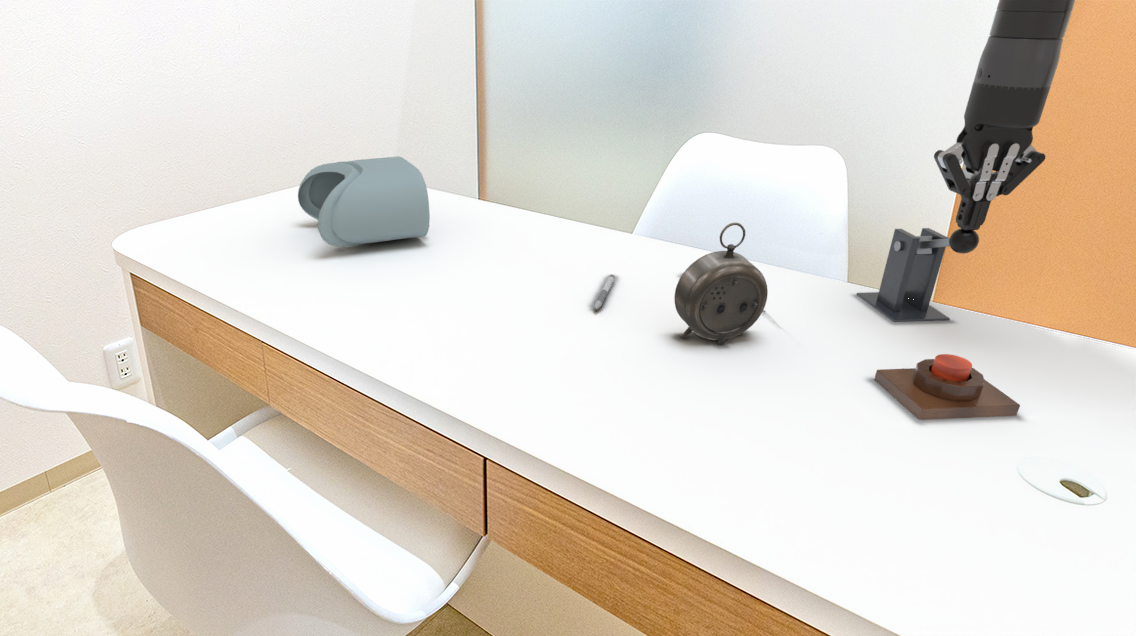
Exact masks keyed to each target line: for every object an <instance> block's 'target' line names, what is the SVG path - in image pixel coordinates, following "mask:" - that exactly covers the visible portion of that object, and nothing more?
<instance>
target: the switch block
mask: <svg viewBox="0 0 1136 636" xmlns="http://www.w3.org/2000/svg"><path fill="white" fill-rule="evenodd" d="M934 359H935V358H926V359H925V358H924V359H923V360H920V361H919V362H917V363H916V365H915V367H914V368H909V367H908V368H885V369H876V372H875V375H874V378H873V380H874V381H875V382H876V383H877V384H879V385H880V386H881V387H882V388H883V389H884V390H885V391H886V392H887V393H889V395H891V396H892V397H893V398H895V400H896V401H898V402H899V403H900V404H901V405H902V406H903V407H904V408H905V409H907V411H908V412H910V413H911V414H912V415H913V416H914V417H915V418H917V420H919V421H921V420H922V421H923V420H925V421H926V420H943V419H944V420H945V419H946V420H947V419H968V418H970V419H971V418H991V417H992V418H993V417H995V418H996V417H1014V416H1017V415H1018V412H1019V410H1020V407H1021V404H1019V403H1018V402H1017V401H1016V400H1014V399H1013V398H1011V397H1010V396H1008V395H1007V394H1006V393H1004V392H1003V391H1001V390H1000V389H999V388H997V387H996V386H994V385H993V384H992V383H990V382H989V381H988V380H987V379H985V378H984V374H983V373H981V372H980V371H979V370H977V369H975V368H974V367H972V369H971V372H970V375H969V378H968V380H967V381H959V382H958V381H952V380H947V379H943V378H941V377H938V376H936V375H934V374H933V373H932V372H931V369H932V366H933V363H934Z"/></svg>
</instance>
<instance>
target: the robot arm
mask: <svg viewBox="0 0 1136 636" xmlns="http://www.w3.org/2000/svg"><path fill="white" fill-rule="evenodd" d="M1075 2H1076V0H998V3H997V6H996V10H995V13H994V17H993V20H992V24H991V28H990V32H989V34H988V35H989V36H988V37H987V41H986V43H985V46H984V48H983V50H982V52H981V55H980V58H979V61H978V64H977V68H976V72H975V75H974V79H973V82H972V86H971V89H970V93H969V96H968V100H967V103H966V108H965V110H964V115H963V119H964V125H963V128H962V130H961V131H960V133H959V134H958V135H957V137H956V140H955V141H956V142H955V143H954V144H953V145H951V146H949V147H948V148H947V149H946V150H942V149H937V151H935V153H934V154H933V159H934V161H935V163H936V165H937V167H938V169H939V172H940V173H941V176H942V179H943V180H944V182H945V184H946V187H947V189H948V191H950V192H952V193H955V194H957V195H959V196H960V198H961V199H960V202H959V206H958V210H957V213H956V216H955V223H956V224H957V227H958V228H959V229H960V228H962V229H964V230H974V231H978V230H980V228H981V226H983V225H984V223H985V222H986V219H987V215H988V212H989V209H990V205H991V203H992V201H993V200H995V199H996V197H1000V196H1008V195H1010V194H1011V193H1012V192H1013V191H1014V190H1015V189H1016V188H1018V187H1019V186H1020V185H1021V183H1023V181H1025V180H1026V179H1027V178H1028V177H1029V176H1030V175H1031V174H1032V173H1033V172H1034V171H1035V170H1037V168H1039V166H1040V165H1042V164H1043V163H1044V162H1045V160H1046V154H1045V153H1043V152H1039V151H1037V150H1036V148H1035V147H1034V146H1033V145H1032V143H1033V140H1034V135H1033V128H1034V127H1036V126H1037V125H1038V124H1040V122H1041V121H1040V120H1041V118H1042V114H1043V112H1044V109H1045V105H1046V102H1047V99H1048V97H1049V94H1050V90H1051V87H1052V84H1053V81H1054V79H1055V74H1056V71H1057V69H1058V67H1059V66H1058V65H1059V61H1060V56H1061V53H1062V52H1061V50H1062V45H1063V42H1064V38H1065V35H1066V31H1067V29H1068V26H1069V22H1070V19H1071V16H1072V13H1073V9H1074V6H1075ZM962 163H963V166H962Z"/></svg>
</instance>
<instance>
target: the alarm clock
mask: <svg viewBox="0 0 1136 636" xmlns="http://www.w3.org/2000/svg"><path fill="white" fill-rule="evenodd" d="M732 226H737V227H740V229H741V230H742V237H741V240H739V242H738V243H737V244H736V245H734V244H733V243H730V244H728V245H725V244H724V242H723V235H724V233H725V231H726V230H727V229H729V228H730V227H732ZM745 238H746V228H745V227H744V225H743V224H741V223H740V222H730V223H728V224H726V225H725V226H724V227H723V229H722V230H721V232H720V234H719V242H720V245H721V246H722V247H723V248H724V249H727V250H717V251H712V252H710V253H707V254H705V255H703V256H701V257H699V258H698V259H696V260H695V261H693V262H692V263H691V264H689V266H688V267H687V268H686V269H685V270H684V271H683V273H682V275H681V276H680V277H679V280H678V282H677V284H676V286H675V290H674V307H675V310H676V313H677V314H678V316H679V317H680V319H681V320H682V321H683V322H684V323H685V324H686V325H687V328H686V329H685V330H684V332H683V333H682V335H681V336H680V337H679V339H680V340H681V339H682V340H683V339H686V338H687V337H688V336H689V335H690V334H691V333H692V332H693V333H694V334H696V335H697V336H699V337H700V338H702V339H705V340H710V341H718V343H717V344H718V345H717V346H718V347H719V346H720V347H723V346H725V340H729V339H733V338H735V337H737V336H739V335H743V333H745V332H746V331H748V330H749V329H750V328H751V327H752V326H753V325H754V324H755V323H757V321H758V319H759V318H760V317H761V315H762V313H763V312H764V309H765V307H766V304H767V301H768V284H767V281H766V278H765V277H764V274H763V273H762V271H761V270H760V269H759V268H757V266H755V265H754V263H751V261H749V260H748V259H747V258H746V257H745V256H744V255H742V254H740V253H738V252H735V249H737V248H738V247H739V246H741V244H742V243H743V242H744V240H745Z"/></svg>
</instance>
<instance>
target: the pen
mask: <svg viewBox="0 0 1136 636" xmlns="http://www.w3.org/2000/svg"><path fill="white" fill-rule="evenodd" d="M614 281H615V275H614V274H610V275H609V276H608V277H607V279H606V281H605V283H604V285H603V287H602V289H601V291H600V292H599V294H598V296H597V298H596V300H595V302H594V309H595V310H599V309H601V307H602V306H603V304H604V301H605V300H606V297H607V296H608V294H609V292H610V291H611V290H612V287H613V285H614Z"/></svg>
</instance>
